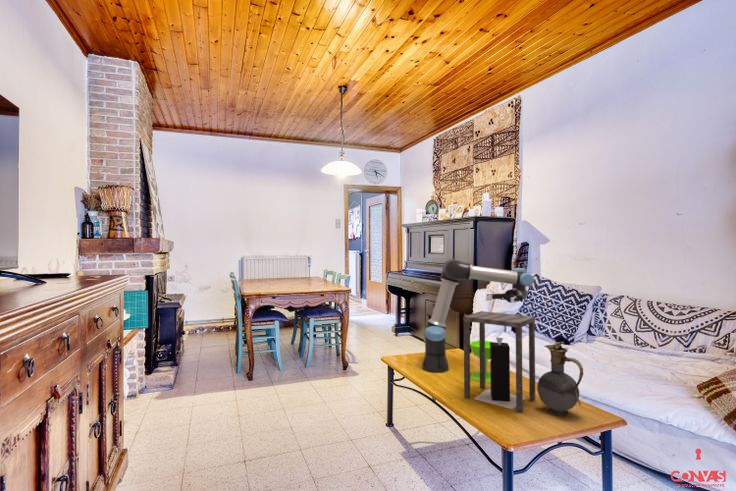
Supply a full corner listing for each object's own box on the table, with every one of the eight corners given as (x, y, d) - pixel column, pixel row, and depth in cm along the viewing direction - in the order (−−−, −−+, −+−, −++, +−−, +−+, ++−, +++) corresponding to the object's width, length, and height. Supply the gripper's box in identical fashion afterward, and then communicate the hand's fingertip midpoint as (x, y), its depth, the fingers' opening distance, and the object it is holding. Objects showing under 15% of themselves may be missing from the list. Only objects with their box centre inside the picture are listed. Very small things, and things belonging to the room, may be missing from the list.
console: (463, 398, 181) (463, 316, 181) (482, 386, 196) (481, 311, 197) (520, 413, 164) (519, 323, 164) (535, 399, 179) (534, 316, 180)
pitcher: (550, 403, 175) (549, 336, 175) (591, 419, 158) (590, 345, 158) (533, 408, 170) (533, 339, 170) (574, 425, 153) (573, 348, 153)
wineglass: (501, 384, 200) (500, 349, 200) (468, 380, 205) (468, 346, 205) (501, 374, 215) (500, 341, 215) (471, 371, 220) (470, 339, 220)
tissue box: (510, 401, 175) (509, 339, 176) (492, 400, 177) (491, 338, 177) (507, 395, 183) (507, 335, 183) (490, 394, 185) (489, 335, 185)
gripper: (535, 303, 219) (522, 308, 203) (492, 300, 236) (477, 304, 219) (535, 290, 219) (522, 294, 203) (492, 287, 236) (477, 290, 219)
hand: (498, 299), depth 211 cm, fingers open, 13 cm apart
